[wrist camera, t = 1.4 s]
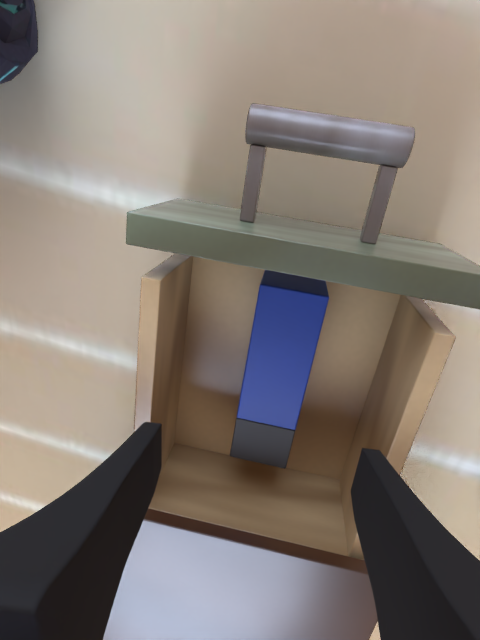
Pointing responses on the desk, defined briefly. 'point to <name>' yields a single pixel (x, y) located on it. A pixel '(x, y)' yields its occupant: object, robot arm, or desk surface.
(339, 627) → the cabinet
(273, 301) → the eraser
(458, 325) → the desk surface
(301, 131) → the drawer
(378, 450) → the robot arm
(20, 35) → the portable speaker
